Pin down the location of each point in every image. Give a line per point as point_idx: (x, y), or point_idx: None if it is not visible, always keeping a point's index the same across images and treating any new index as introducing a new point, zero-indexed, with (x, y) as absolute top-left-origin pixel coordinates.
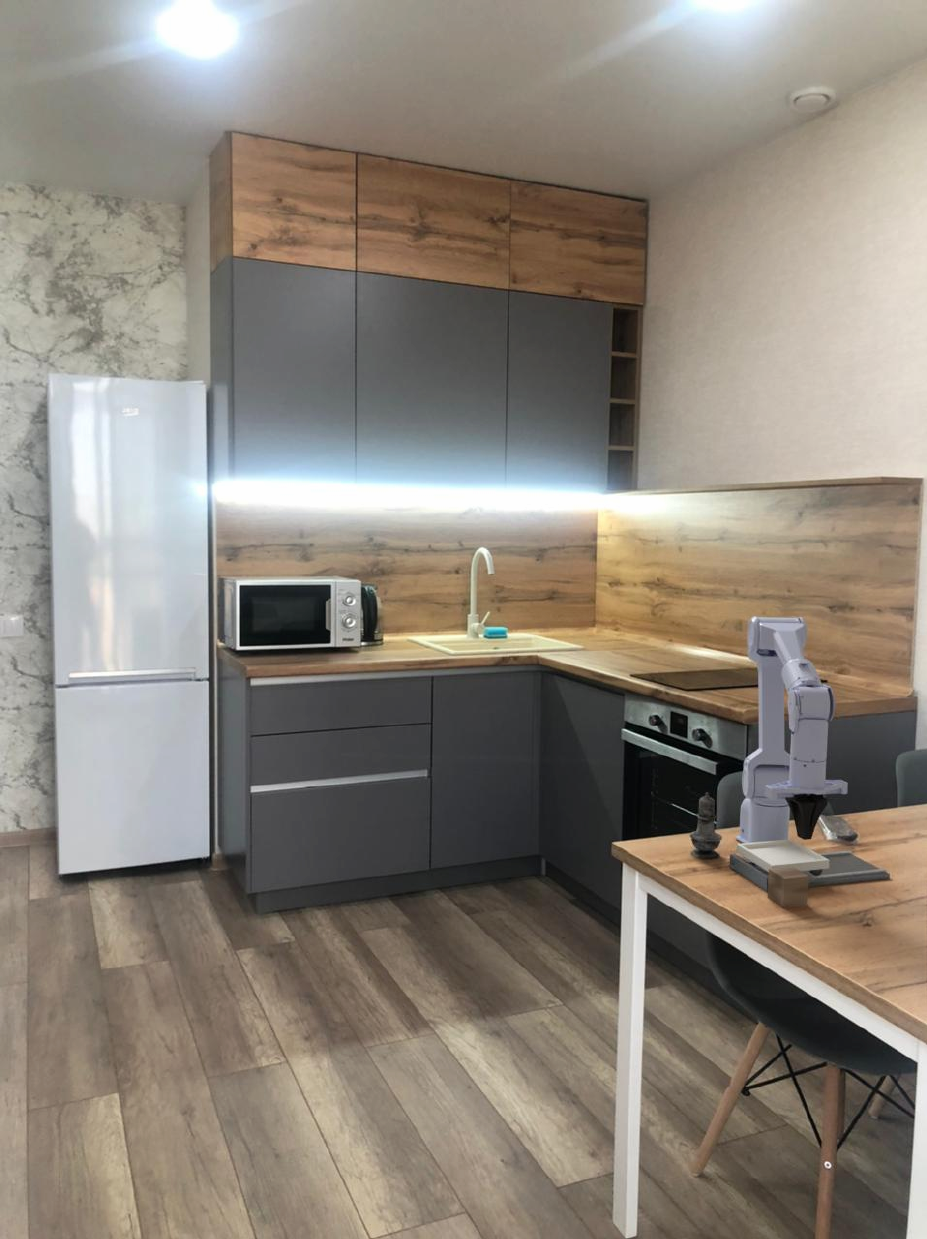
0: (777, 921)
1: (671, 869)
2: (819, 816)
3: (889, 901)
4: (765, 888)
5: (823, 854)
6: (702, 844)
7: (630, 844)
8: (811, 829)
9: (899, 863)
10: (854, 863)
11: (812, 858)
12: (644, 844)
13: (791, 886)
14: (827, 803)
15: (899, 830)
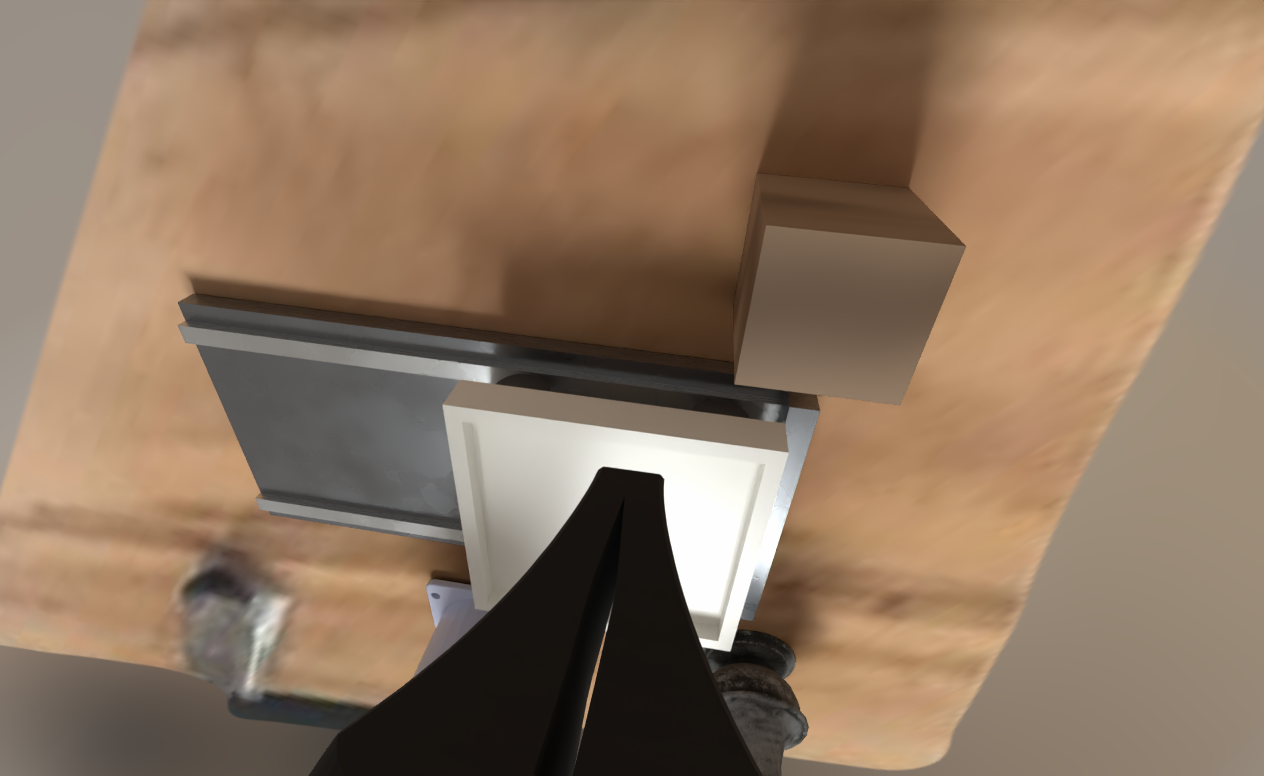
0: (1129, 24)
1: (964, 630)
2: (493, 611)
3: (298, 61)
4: None
5: (372, 519)
6: (788, 695)
7: (898, 762)
8: (603, 521)
9: (107, 393)
10: (287, 433)
11: (492, 465)
12: (858, 750)
13: (888, 220)
14: (329, 758)
15: (40, 567)
